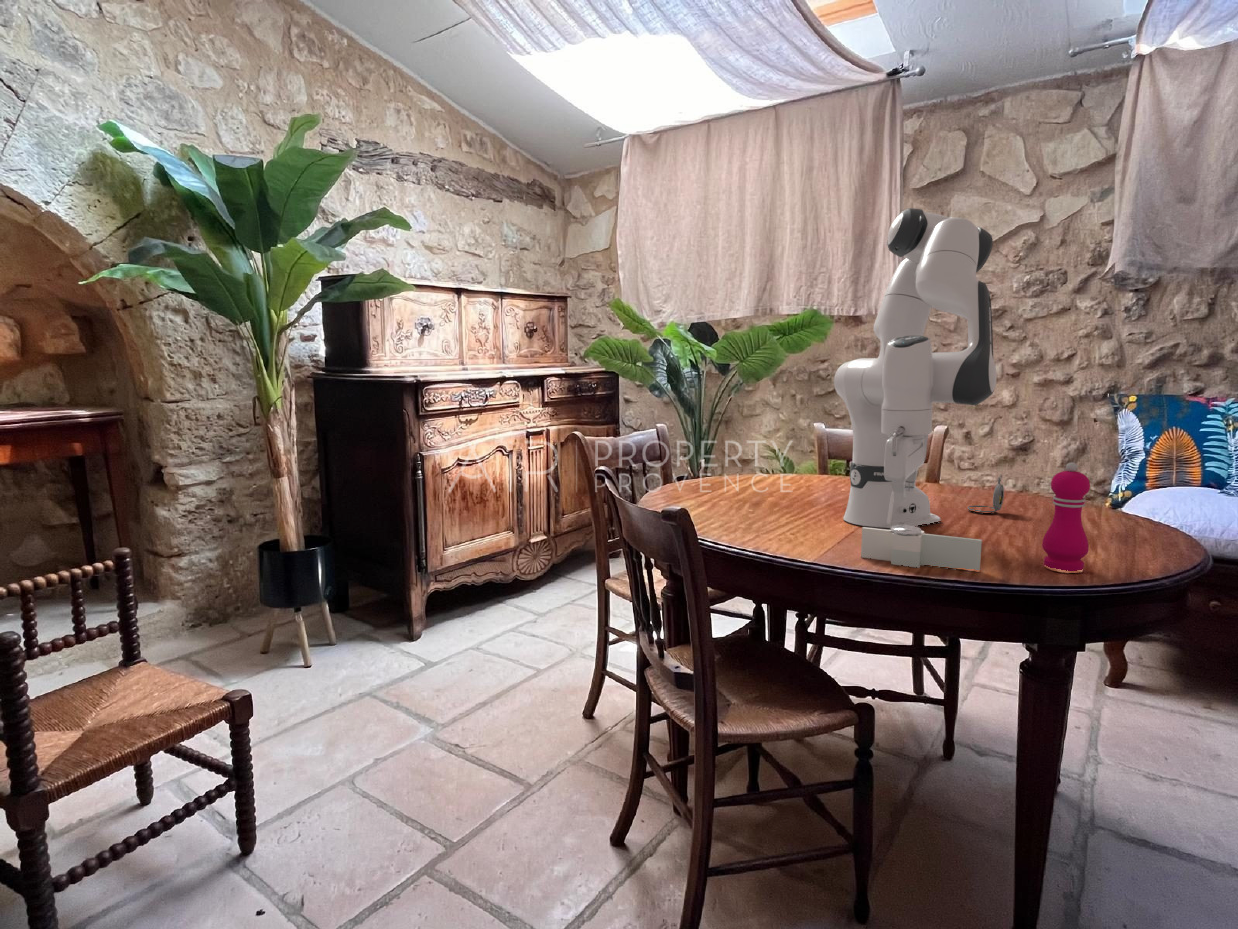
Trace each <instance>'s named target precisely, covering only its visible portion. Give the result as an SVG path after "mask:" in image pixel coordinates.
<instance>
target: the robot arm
mask: <svg viewBox="0 0 1238 929" xmlns="http://www.w3.org/2000/svg"><path fill="white" fill-rule="evenodd" d="M993 240H994V239H993V235H992V234H991V233H990V232H988V231H987V230H985V229H984V228H982V227H980V226H976V224H975V223H974V222H972V221H971V220H969V219H967V218H964V217H960V216H959V217H958V216H955V217H954V216H946V215H943V214H939V213H936V212H935V213H934V212H929V211H924V210H923V209H920V208H906V209H904V210H902V211H901V212H900V213H899V214H898V215H897V217H895V219H894V220H893V222H892V223H891V225H890V227H889V229H888V234H887V242H886V243H887V244H886V245H887V249H888V250H889V252H890V253H892V254H893V255H895V256H897V257H898V258H905V259H903V260H902V261H900V263H899V264H898V266H897V268H896V269H895V271H894V272H893V275H892V277H891V279H890V281H889V282H888V284H887V287H886V290H885V293H884V295H883V298H882V300H881V304H880V306H879V309H878V313H877V314H876V318H875V320H874V324H873V334H874V335H875V336H876V338H877V339H878V340H879V341H880V348H879V354H878V356H877V357H870V358H869V357H865V358H864V357H863V358H856V359H853V360H850V361H846V362H844V363H842V364H841V365H840V366H839V367H838V368H837V370H836V371H835V374H834V378H833V386H834V389H835V392H836V394H837V395H838V396H839V397H840V398H841V400H842V401H843V403H844V404H845V408H846V409H847V411H848V415H849V419H850V422H851V424H850V425H851V429H852V461H851V462H850V467H849V468H850V469H849V481H850V489H849V495H848V496H849V497H848V501H847V504H846V509H845V513H844V515H843V518H842V519H843V520H844V521H845V522H847V523H850V524H853V525H858V526H862V527H869V528H882V529H891V526H894V525H910V526H916V527H919V526H918V525H922V524H927V525H931V524H930V523H933V524H935V523H934V522H938V521H941V517H940V516H938V515H937V514H933V513H932V512H931V503H930V498H929V497H928V495H927V494H926V493H925V492H924V491H923V490H921V489H920V488H919V487H917V486H916V482H917V477H918V476H917V475H918V472H919V471H918V469H919V468H921V466H922V465H924V464H925V461H926V456H927V448H928V440H929V434H930V435H931V434H932V431H933V403H934V404H936V403H937V404H938V403H942V404H944V403H945V404H949V403H950V404H958V405H967V406H978V405H979V404H981V403H983V402H984V401H985V400H987V399H989V397H991V396H992V395H993V394H994V392H995V389H996V386H997V376H998V374H997V368H996V365H995V361H994V360H995V359H994V341H993V340H994V338H993V335H994V332H993V312H992V300H991V295H990V291H989V288H988V285H987V283H985V282H983V281H981V280H979V279H978V277H977V273H979V271H980V270H982V268H984V266H985V265H986V263H987V261H988V260H989V258H990V256H991V253H992V249H993V245H994V241H993ZM932 309H935V310H936V311H937V310H938V311H940V312H944V313H948V314H952V315H956V316H959V317H961V318H964V319H965V320H967V342H968V343H967V348H965V349H964V350H961V351H960V350H959V351H952V352H951V351H946V352H945V351H944V352H943V351H942V352H941V351H939V352H933V350H932V349H933V348H932V343H931V339H930V338H929V337H928V336H925V335H924V333H925V329H926V327H927V324H928V321H929V318H930V316H931V315H930V314H931V312H932ZM938 523H939V522H938ZM922 526H923V525H922Z"/></svg>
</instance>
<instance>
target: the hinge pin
mask: <svg viewBox="0 0 1238 929" xmlns="http://www.w3.org/2000/svg"><path fill="white" fill-rule="evenodd" d="M890 530H891V532H892V533H894V534H897V535H904V536H917V535H920V534H921V531H922V528H920V526H916V527H915V526H910V525H894V526H891V528H890Z"/></svg>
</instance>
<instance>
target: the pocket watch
mask: <svg viewBox="0 0 1238 929" xmlns="http://www.w3.org/2000/svg"><path fill="white" fill-rule="evenodd" d="M1002 479H1003V474H1000V475H999V477H998V479H997V484H996V485H995V487H994V490H993V494H992V495H993V496H992V506H988V505H968V506H967V508H968V509H969V510H974V509H970V508H969V507H990V508H992V509H995V510H994V511H981V510H975V511H980V512H995V511H997V512H998V511H1000V510H1001V509H1002V507H1003V504H1004V498H1005V497H1004V496H1005V488H1004V485H1003V484H1001V481H1002ZM968 509H967V510H968ZM969 510H968V511H969Z"/></svg>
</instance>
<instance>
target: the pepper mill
mask: <svg viewBox="0 0 1238 929" xmlns="http://www.w3.org/2000/svg"><path fill="white" fill-rule="evenodd" d="M1078 468H1079V467H1078V464H1077V463H1075V462H1068V463H1067V464H1066V466H1065V470H1063V471H1059V472H1057V473H1055V475H1054V476H1053V477H1052V479H1051V482H1050V488H1051V491H1052V492H1053V493H1054V495H1053V497H1052V498H1053V501H1052V504H1053V505H1054V514H1053V518H1052V521H1051V524H1050V525H1049V527H1048V529H1047V530H1046V532H1045V534H1044V536H1043V539H1042V544H1041V547H1042V550H1043V551H1044V552H1045V553H1046V554H1047V556H1045V557H1043V566H1044V565H1046V566H1048V567H1050V568H1056V569H1061V570H1066V571H1067V570H1068V571H1077V570H1082V569H1083V568H1084V567H1085V562H1084V561H1083V560H1082V559H1083V558H1084V557H1085V556H1086V555H1087V554H1088V553H1089V550H1090V548H1089V541H1088V537H1087V535H1086V534H1087V533H1086V532H1085V530H1084V529H1085V528H1084V527H1083V522H1082V511H1083V508H1084V507H1085V506H1086V504H1085V502H1086V499H1085V498H1084V497H1086V495H1087V494H1088V493H1089V492H1090V489H1091V483H1090V479H1089V477H1088V476H1087V475H1086V474H1084V473H1082V472H1080V471H1077V470H1078Z"/></svg>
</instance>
